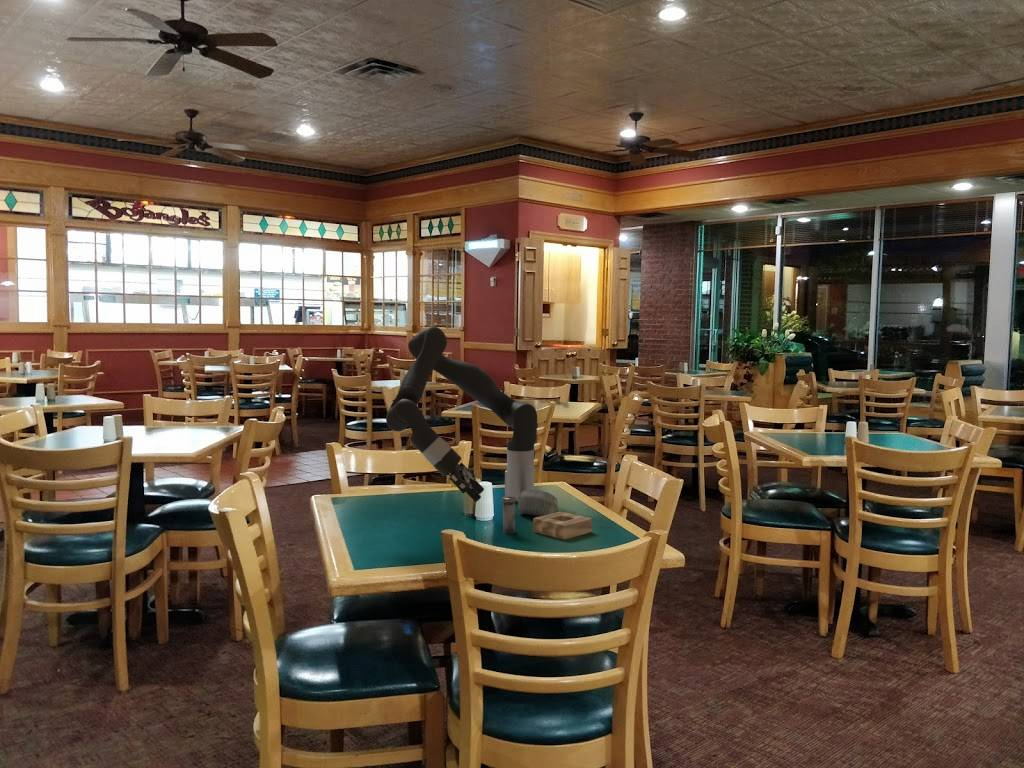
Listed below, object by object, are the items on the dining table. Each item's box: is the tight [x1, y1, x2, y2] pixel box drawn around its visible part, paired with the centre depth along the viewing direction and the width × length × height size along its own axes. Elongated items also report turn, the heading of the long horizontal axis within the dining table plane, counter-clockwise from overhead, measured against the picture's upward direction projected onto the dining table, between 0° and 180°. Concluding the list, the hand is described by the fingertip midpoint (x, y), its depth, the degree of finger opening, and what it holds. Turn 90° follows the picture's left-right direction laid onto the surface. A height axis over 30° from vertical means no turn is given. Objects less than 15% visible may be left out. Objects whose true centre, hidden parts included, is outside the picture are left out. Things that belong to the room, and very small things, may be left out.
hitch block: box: [532, 511, 593, 541], centre depth 239 cm, size 12×12×4 cm
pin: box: [501, 496, 517, 534], centre depth 238 cm, size 4×4×10 cm
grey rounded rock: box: [517, 489, 559, 517], centre depth 257 cm, size 14×10×10 cm
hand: (480, 495), depth 239 cm, fingers open, 8 cm apart
